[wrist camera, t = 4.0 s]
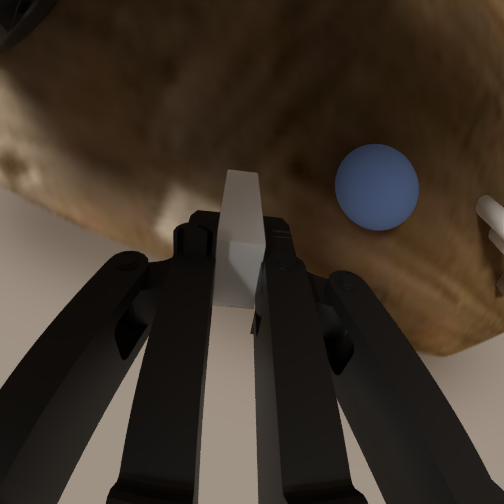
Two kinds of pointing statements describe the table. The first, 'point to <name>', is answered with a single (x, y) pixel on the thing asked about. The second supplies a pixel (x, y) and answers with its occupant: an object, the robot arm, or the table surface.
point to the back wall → (501, 283)
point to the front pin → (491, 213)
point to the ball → (376, 187)
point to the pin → (496, 240)
